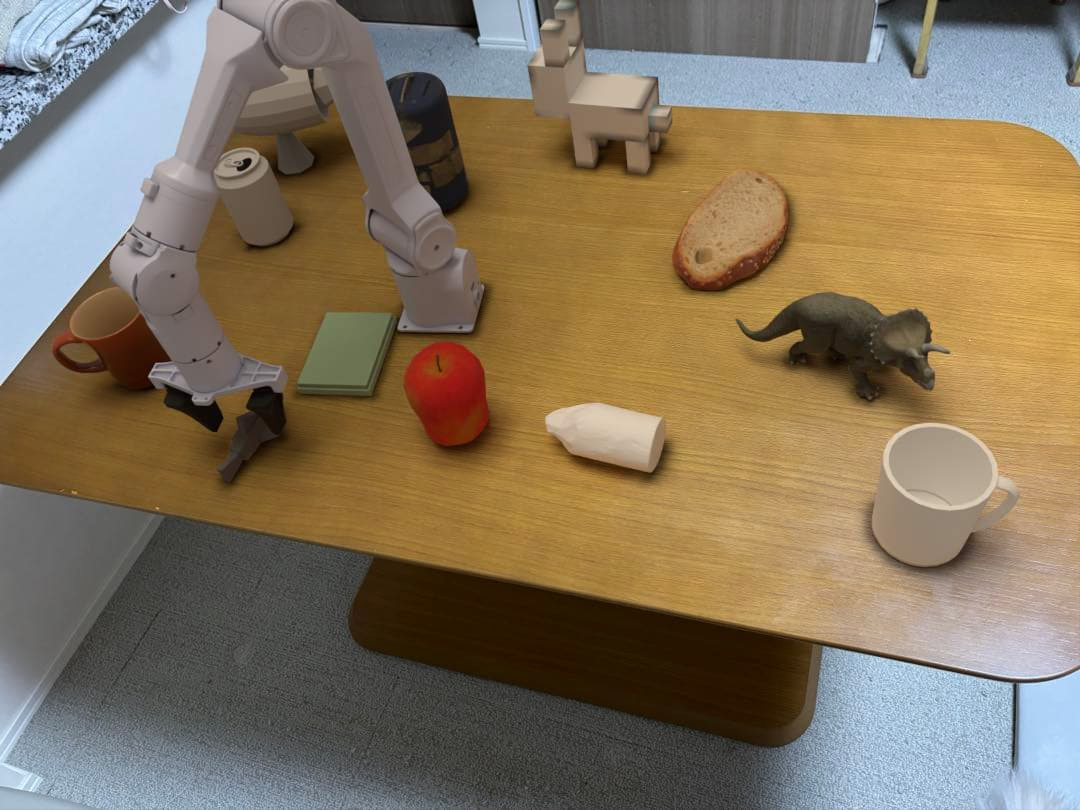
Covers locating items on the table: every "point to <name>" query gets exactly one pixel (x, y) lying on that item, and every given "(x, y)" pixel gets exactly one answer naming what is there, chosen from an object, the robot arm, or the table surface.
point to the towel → (347, 354)
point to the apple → (448, 392)
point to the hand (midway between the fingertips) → (249, 426)
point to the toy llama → (594, 95)
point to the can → (253, 197)
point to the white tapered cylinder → (609, 434)
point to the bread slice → (732, 231)
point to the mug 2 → (935, 493)
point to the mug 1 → (113, 339)
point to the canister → (430, 135)
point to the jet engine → (288, 114)
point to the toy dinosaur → (856, 337)
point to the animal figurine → (245, 442)
